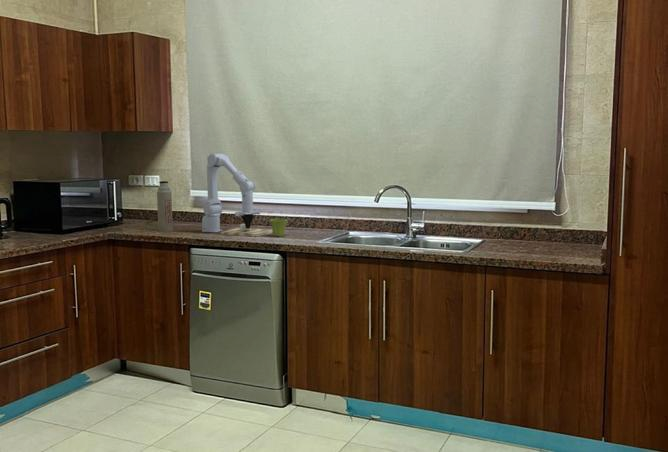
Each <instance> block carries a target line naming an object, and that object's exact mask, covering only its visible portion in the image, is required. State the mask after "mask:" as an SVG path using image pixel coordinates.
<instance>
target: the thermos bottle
mask: <svg viewBox="0 0 668 452" xmlns="http://www.w3.org/2000/svg"><path fill="white" fill-rule="evenodd" d="M158 183H159V186H158V187H157V191H156V201H157V202H156V203H157V205H156V206H157V230H158V232H171V231H173V230H174V228H173V226H174V225H173V202H172V201H173V200H172V199H173V198H172V191H171V187H170V186H169V181H167V180H164V181H158Z"/></svg>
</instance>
